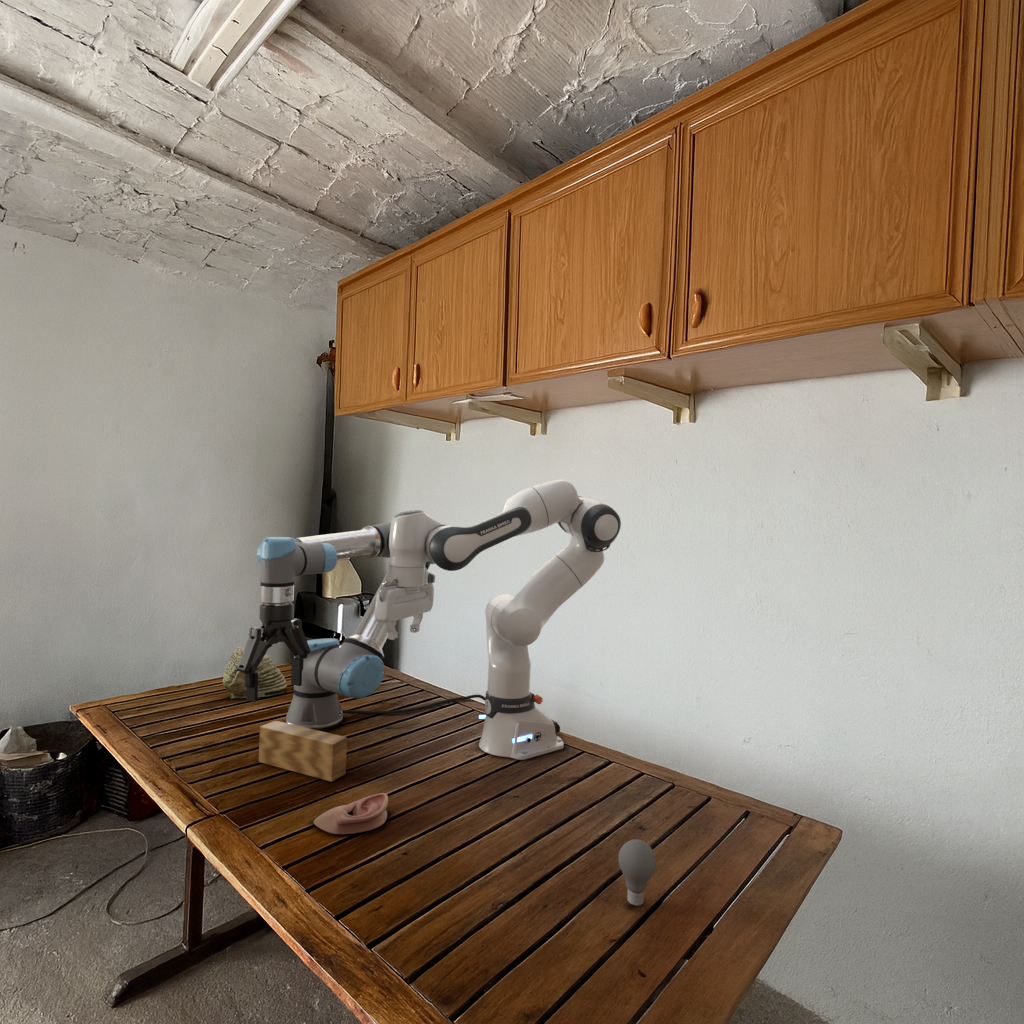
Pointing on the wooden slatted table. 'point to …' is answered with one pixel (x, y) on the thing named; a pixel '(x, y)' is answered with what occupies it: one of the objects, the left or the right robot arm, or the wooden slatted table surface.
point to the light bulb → (636, 868)
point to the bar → (303, 750)
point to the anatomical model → (355, 816)
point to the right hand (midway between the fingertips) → (404, 635)
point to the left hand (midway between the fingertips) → (275, 692)
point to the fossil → (267, 677)
